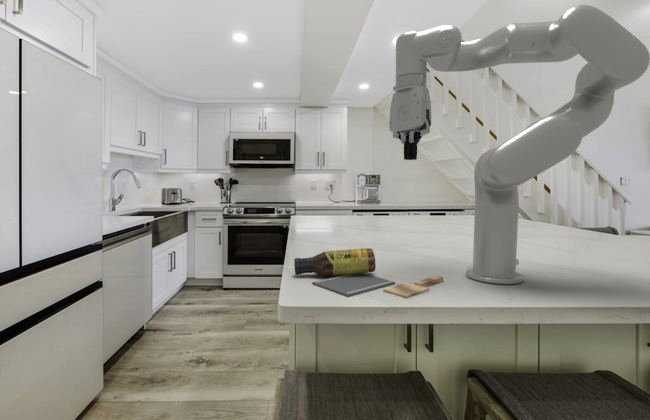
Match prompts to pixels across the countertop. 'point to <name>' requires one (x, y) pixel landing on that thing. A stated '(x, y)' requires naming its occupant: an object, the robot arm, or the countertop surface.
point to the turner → (413, 287)
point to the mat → (353, 284)
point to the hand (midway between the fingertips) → (410, 159)
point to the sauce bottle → (337, 262)
